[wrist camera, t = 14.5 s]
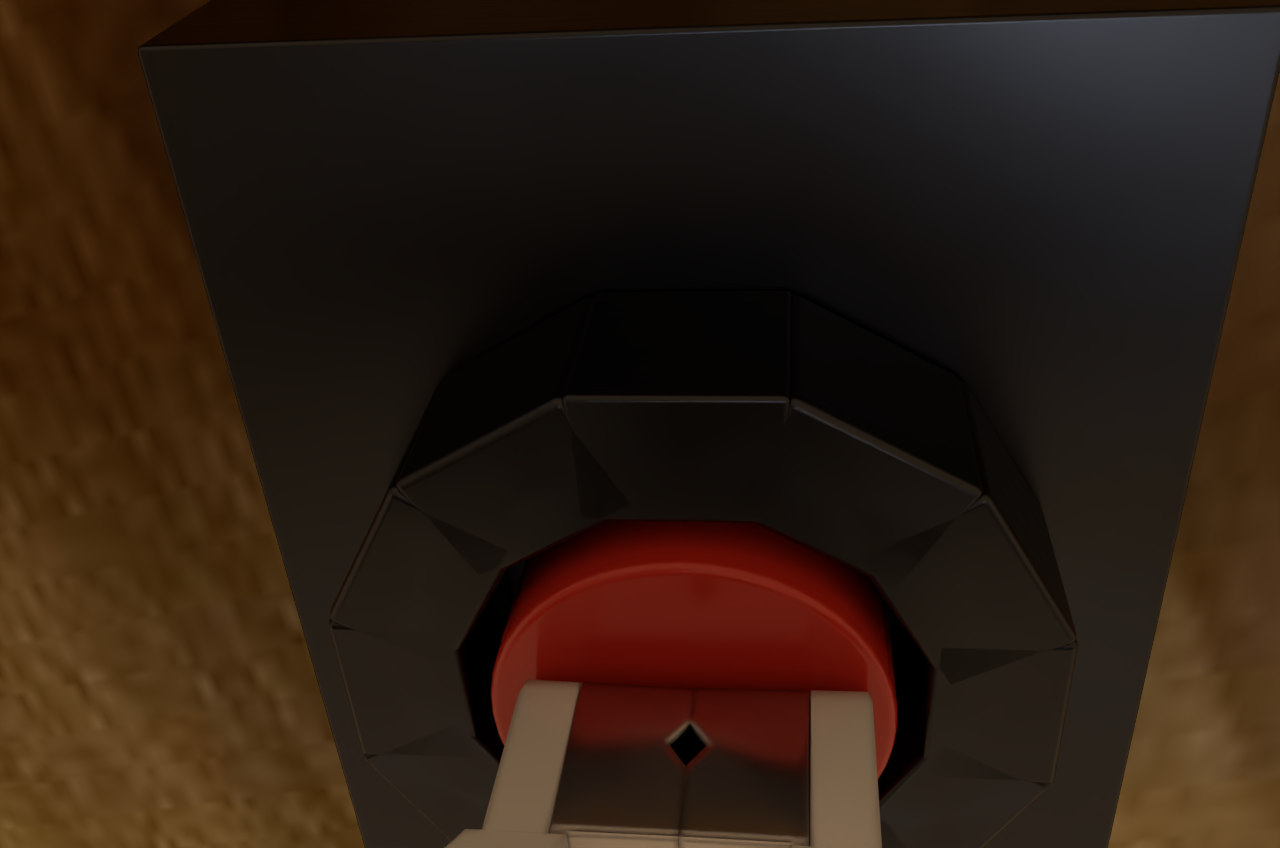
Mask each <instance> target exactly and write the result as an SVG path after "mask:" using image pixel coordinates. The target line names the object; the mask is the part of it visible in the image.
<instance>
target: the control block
mask: <svg viewBox="0 0 1280 848" xmlns="http://www.w3.org/2000/svg"><path fill="white" fill-rule="evenodd" d="M138 55H139V58H140V62H141V65H142V69H143V72H144V76H145V79H146V83H147V86H148V90H149V93H150V97H151V100H152V104H153V107H154V111H155V114H156V118H157V121H158V125H159V128H160V132H161V135H162V139H163V142H164V146H165V149H166V153H167V156H168V160H169V163H170V167H171V170H172V174H173V177H174V181H175V184H176V188H177V191H178V195H179V198H180V202H181V205H182V209H183V212H184V216H185V219H186V223H187V226H188V230H189V233H190V237H191V240H192V244H193V247H194V251H195V254H196V258H197V261H198V265H199V268H200V272H201V275H202V279H203V282H204V286H205V289H206V293H207V296H208V300H209V303H210V307H211V310H212V314H213V317H214V321H215V324H216V328H217V331H218V335H219V338H220V342H221V345H222V349H223V352H224V356H225V359H226V363H227V366H228V370H229V373H230V377H231V380H232V384H233V387H234V391H235V394H236V398H237V401H238V405H239V408H240V412H241V415H242V419H243V422H244V426H245V429H246V433H247V436H248V440H249V443H250V447H251V450H252V454H253V457H254V461H255V464H256V468H257V471H258V475H259V478H260V482H261V485H262V489H263V492H264V496H265V499H266V503H267V506H268V510H269V513H270V517H271V520H272V524H273V527H274V531H275V534H276V538H277V541H278V545H279V548H280V552H281V555H282V559H283V562H284V566H285V569H286V573H287V576H288V580H289V583H290V587H291V590H292V594H293V597H294V601H295V604H296V608H297V611H298V615H299V618H300V622H301V625H302V629H303V632H304V636H305V639H306V643H307V646H308V650H309V653H310V657H311V660H312V664H313V667H314V671H315V674H316V678H317V681H318V685H319V688H320V692H321V695H322V699H323V702H324V706H325V709H326V713H327V716H328V720H329V723H330V727H331V730H332V734H333V737H334V741H335V744H336V748H337V751H338V755H339V758H340V762H341V765H342V769H343V772H344V776H345V779H346V783H347V786H348V790H349V793H350V797H351V800H352V804H353V807H354V811H355V814H356V818H357V821H358V825H359V828H360V832H361V835H362V839H363V842H364V846H365V848H445V847H446V846H447V845H448V844H449V843H450V842H451V841H452V840H453V839H455V838H456V837H457V836H458V835H459V834H460V833H461V832H462V831H463V830H464V829H482V827H483V824H484V820H485V816H486V812H487V809H488V805H489V801H490V798H491V794H492V790H493V787H494V783H495V779H496V776H497V772H498V768H499V764H500V761H501V757H502V753H503V750H504V745H503V743H502V740H501V738H500V736H499V733H498V730H497V726H496V722H495V719H494V715H493V711H492V702H491V681H492V672H493V668H494V665H495V661H496V658H497V654H498V651H499V647H500V644H501V641H502V637H503V634H504V630H505V627H506V624H507V620H508V617H509V613H510V610H511V607H512V603H513V600H514V596H515V593H516V589H517V586H518V583H519V579H520V576H521V572H522V569H523V566H524V562H525V560H526V559H528V558H530V557H533V556H535V555H537V554H539V553H541V552H543V551H545V550H548V549H550V548H552V547H554V546H556V545H558V544H560V543H562V542H565V541H567V540H569V539H571V538H573V537H575V536H577V535H580V534H582V533H584V532H586V531H588V530H590V529H592V528H594V527H597V526H599V525H601V524H603V523H605V522H607V521H609V520H611V521H672V522H733V523H756V524H758V525H760V526H762V527H765V528H767V529H769V530H771V531H773V532H775V533H777V534H779V535H782V536H784V537H786V538H788V539H790V540H792V541H794V542H796V543H799V544H801V545H803V546H805V547H807V548H809V549H811V550H813V551H816V552H818V553H820V554H822V555H824V556H826V557H828V558H831V559H833V560H835V561H837V562H839V563H841V564H843V565H845V566H848V567H850V568H852V569H854V570H856V571H858V572H860V573H862V574H865V575H867V576H869V577H870V579H871V580H872V582H873V583H874V585H875V586H876V587H877V589H878V590H879V592H880V593H881V595H882V596H883V597H884V599H885V600H886V602H887V603H888V608H889V619H890V631H891V642H892V653H893V664H894V675H895V687H896V698H897V718H898V726H897V732H896V738H895V744H894V747H893V749H892V752H891V755H890V758H889V760H888V763H887V765H886V767H885V768H884V770H883V772H882V774H881V775H880V777H879V779H878V793H879V809H880V825H881V840H882V848H1108V844H1109V840H1110V835H1111V831H1112V826H1113V822H1114V817H1115V813H1116V808H1117V804H1118V799H1119V795H1120V790H1121V785H1122V781H1123V776H1124V772H1125V767H1126V763H1127V758H1128V754H1129V749H1130V745H1131V740H1132V736H1133V731H1134V727H1135V722H1136V718H1137V713H1138V709H1139V704H1140V699H1141V695H1142V690H1143V686H1144V681H1145V677H1146V672H1147V668H1148V663H1149V659H1150V654H1151V650H1152V645H1153V641H1154V636H1155V632H1156V627H1157V623H1158V618H1159V614H1160V609H1161V604H1162V600H1163V595H1164V591H1165V586H1166V582H1167V577H1168V573H1169V568H1170V564H1171V559H1172V555H1173V550H1174V546H1175V541H1176V537H1177V532H1178V528H1179V523H1180V518H1181V514H1182V509H1183V505H1184V500H1185V496H1186V491H1187V487H1188V482H1189V478H1190V473H1191V469H1192V464H1193V460H1194V455H1195V451H1196V446H1197V442H1198V437H1199V432H1200V428H1201V423H1202V419H1203V414H1204V410H1205V405H1206V401H1207V396H1208V392H1209V387H1210V383H1211V378H1212V374H1213V369H1214V365H1215V360H1216V356H1217V351H1218V346H1219V342H1220V337H1221V333H1222V328H1223V324H1224V319H1225V315H1226V310H1227V306H1228V301H1229V297H1230V292H1231V288H1232V283H1233V279H1234V274H1235V270H1236V265H1237V261H1238V256H1239V251H1240V247H1241V242H1242V238H1243V233H1244V229H1245V224H1246V220H1247V215H1248V211H1249V206H1250V202H1251V197H1252V193H1253V188H1254V184H1255V179H1256V175H1257V170H1258V165H1259V161H1260V156H1261V152H1262V147H1263V143H1264V138H1265V134H1266V129H1267V125H1268V120H1269V116H1270V111H1271V107H1272V102H1273V98H1274V93H1275V89H1276V84H1277V79H1278V75H1279V70H1280V0H211V1H209V2H208V3H206V4H205V5H203V6H202V7H200V8H198V9H197V10H195V11H194V12H192V13H191V14H189V15H188V16H186V17H184V18H183V19H181V20H180V21H178V22H177V23H175V24H173V25H172V26H170V27H169V28H167V29H166V30H164V31H163V32H161V33H159V34H158V35H156V36H155V37H153V38H152V39H150V40H149V41H147V42H145V43H144V44H142V45H141V46H139V47H138Z"/></svg>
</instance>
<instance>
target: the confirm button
mask: <svg viewBox="0 0 1280 848" xmlns="http://www.w3.org/2000/svg"><path fill="white" fill-rule="evenodd" d="M528 679H533V680H548V681H564V682H580V683H584V682H600V683H616V684H632V685H649V686H665V687H682V688H696V687H702V688H740V689H778V690H809V697H810V692H811V690H818V691H856V692H868V693H869V695H870V697H871V699H872V701H873V715H874V731H875V746H876V762H877V778H878V779H879V777H880V775H881V774H882V772H883V770H884V768H885V767H886V765H887V763H888V760H889V758H890V755H891V752H892V749H893V747H894V744H895V738H896V732H897V726H898V718H897V698H896V687H895V675H894V664H893V653H892V642H891V631H890V619H889V608H888V603H887V602H886V600H885V599H884V597H883V596H882V595H881V593H880V592H879V590H878V589H877V587H876V586H875V585H874V583H873V582H872V580H871V579H870V577H869V576H867V575H865V574H862V573H860V572H858V571H856V570H854V569H852V568H850V567H848V566H845V565H843V564H841V563H839V562H837V561H835V560H833V559H831V558H828V557H826V556H824V555H822V554H820V553H818V552H816V551H813V550H811V549H809V548H807V547H805V546H803V545H801V544H799V543H796V542H794V541H792V540H790V539H788V538H786V537H784V536H782V535H779V534H777V533H775V532H773V531H771V530H769V529H767V528H765V527H762V526H760V525H758V524H756V523H733V522H672V521H611V520H609V521H607V522H605V523H603V524H601V525H599V526H597V527H594V528H592V529H590V530H588V531H586V532H584V533H582V534H580V535H577V536H575V537H573V538H571V539H569V540H567V541H565V542H562V543H560V544H558V545H556V546H554V547H552V548H550V549H548V550H545V551H543V552H541V553H539V554H537V555H535V556H533V557H530V558H528V559H526V560H525V562H524V566H523V569H522V572H521V576H520V579H519V583H518V586H517V589H516V593H515V596H514V600H513V603H512V607H511V610H510V613H509V617H508V620H507V624H506V627H505V630H504V634H503V637H502V641H501V644H500V647H499V651H498V654H497V658H496V661H495V665H494V668H493V672H492V681H491V702H492V711H493V715H494V719H495V722H496V726H497V730H498V733H499V736H500V738H501V740H502V743H503V745H504V746H505V742H506V739H507V735H508V731H509V728H510V724H511V720H512V717H513V713H514V709H515V705H516V702H517V698H518V694H519V692H520V690H521V689H522V687H523V686H524V684H525V683H526V681H527V680H528Z"/></svg>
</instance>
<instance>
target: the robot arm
mask: <svg viewBox="0 0 1280 848" xmlns="http://www.w3.org/2000/svg"><path fill="white" fill-rule="evenodd" d="M445 848H882V840H881V825H880V809H879V793H878V778H877V762H876V746H875V731H874V715H873V701H872V699H871V697H870V695H869V693H868V692H856V691H818V690H811V692H810V697H809V690H778V689H740V688H702V687H696V688H682V687H665V686H649V685H632V684H616V683H600V682H584V683H580V682H564V681H548V680H533V679H528V680H527V681H526V683H525V684H524V686H523V687H522V689H521V690H520V692H519V694H518V698H517V702H516V705H515V709H514V713H513V717H512V720H511V724H510V728H509V731H508V735H507V739H506V742H505V746H504V750H503V753H502V757H501V761H500V764H499V768H498V772H497V776H496V779H495V783H494V787H493V790H492V794H491V798H490V801H489V805H488V809H487V812H486V816H485V820H484V824H483V827H482V829H464V830H463V831H462V832H461V833H460V834H459V835H458V836H457V837H456V838H455V839H453V840H452V841H451V842H450V843H449V844H448V845H447V846H446V847H445Z"/></svg>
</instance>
